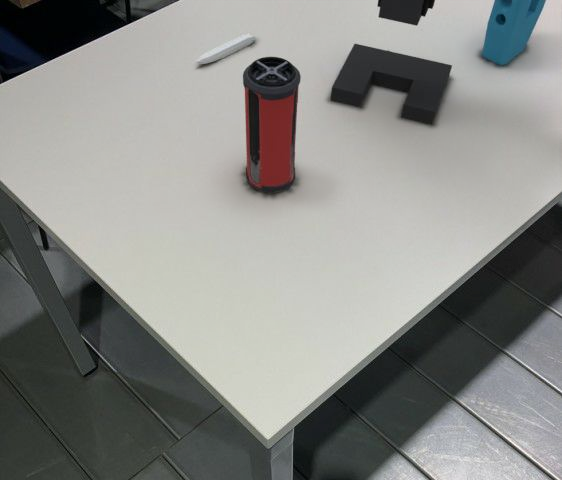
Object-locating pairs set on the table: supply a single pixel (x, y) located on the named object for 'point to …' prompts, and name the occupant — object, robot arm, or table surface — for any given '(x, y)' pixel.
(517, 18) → the block
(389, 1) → the plug pad
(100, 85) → the table surface
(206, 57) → the pen
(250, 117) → the speaker
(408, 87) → the base pad
